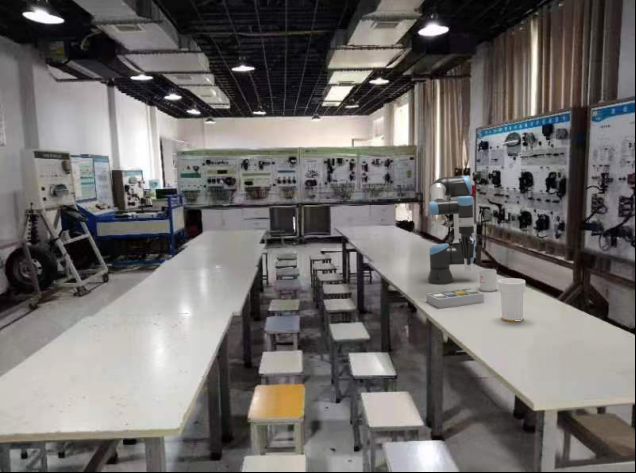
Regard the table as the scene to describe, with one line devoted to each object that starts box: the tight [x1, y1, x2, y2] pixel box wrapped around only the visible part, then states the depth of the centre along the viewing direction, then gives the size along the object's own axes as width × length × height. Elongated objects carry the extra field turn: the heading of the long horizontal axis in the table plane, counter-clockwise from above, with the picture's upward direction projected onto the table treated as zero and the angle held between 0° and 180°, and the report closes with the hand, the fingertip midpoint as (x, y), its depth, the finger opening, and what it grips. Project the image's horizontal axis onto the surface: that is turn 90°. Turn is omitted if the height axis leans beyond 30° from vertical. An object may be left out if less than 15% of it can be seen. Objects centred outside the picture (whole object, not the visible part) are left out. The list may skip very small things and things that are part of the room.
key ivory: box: [432, 294, 444, 299], centre depth 243 cm, size 4×4×2 cm
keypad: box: [425, 287, 485, 309], centre depth 245 cm, size 14×25×5 cm, turn 102°
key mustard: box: [454, 291, 466, 296], centre depth 245 cm, size 4×4×2 cm
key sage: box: [464, 288, 477, 294], centre depth 246 cm, size 4×4×2 cm
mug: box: [476, 268, 498, 293], centre depth 266 cm, size 12×9×11 cm
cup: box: [497, 277, 526, 322], centre depth 211 cm, size 11×11×17 cm
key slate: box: [443, 292, 455, 297], centre depth 244 cm, size 4×4×2 cm
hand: (467, 270), depth 247 cm, fingers closed
